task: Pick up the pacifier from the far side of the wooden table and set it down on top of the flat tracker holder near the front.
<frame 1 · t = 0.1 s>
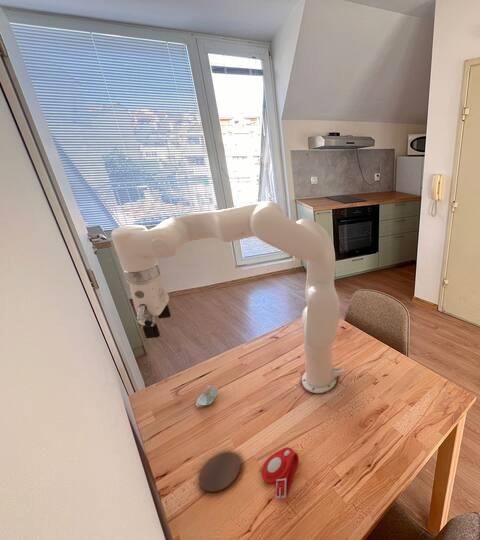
hand: (159, 326, 84), 31 cm above the table, tool pointing down, fingers open, 9 cm apart
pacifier: (207, 400, 99), on the table
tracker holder: (279, 477, 77), on the table
dark brown coaster: (220, 472, 78), on the table
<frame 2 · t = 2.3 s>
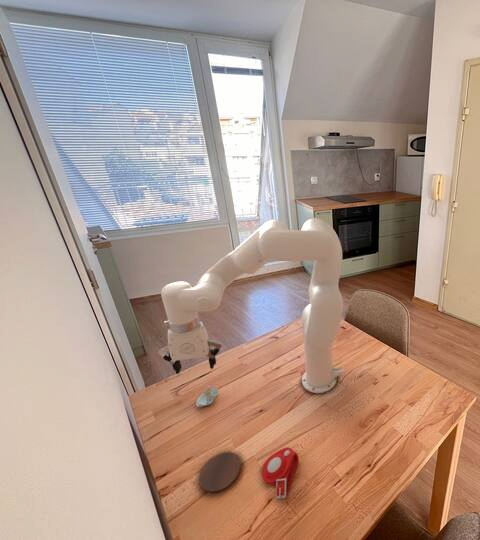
hand: (196, 368, 92), 14 cm above the table, tool pointing down, fingers open, 9 cm apart
nothing on the table moved.
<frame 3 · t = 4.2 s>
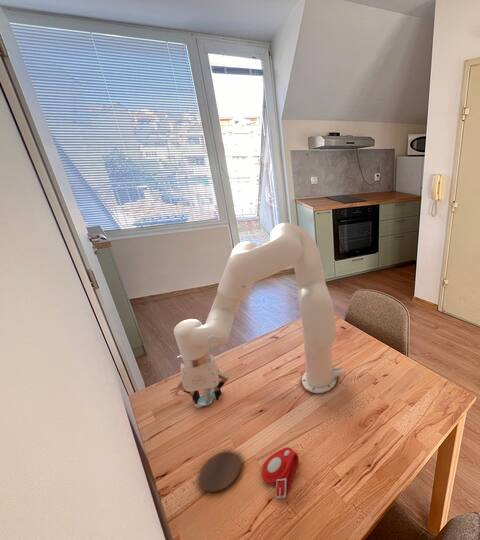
hand: (208, 398, 98), 1 cm above the table, tool pointing down, fingers closed on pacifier, 5 cm apart
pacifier: (206, 401, 99), on the table, touching gripper
everything else where it was.
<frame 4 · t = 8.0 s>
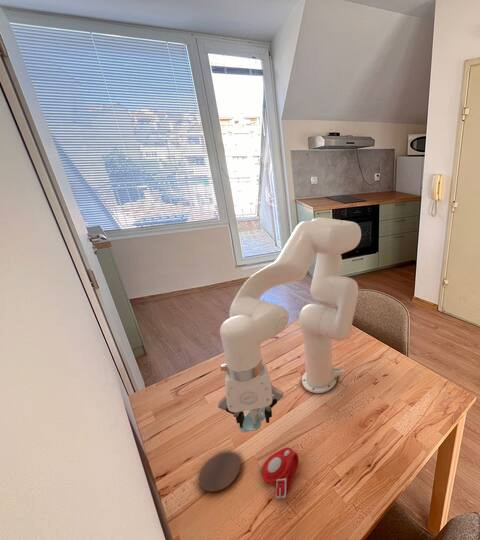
hand: (255, 420, 75), 15 cm above the table, tool pointing down, fingers closed on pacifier, 5 cm apart
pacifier: (252, 423, 75), point 15 cm above the table, touching gripper
everything else where it was.
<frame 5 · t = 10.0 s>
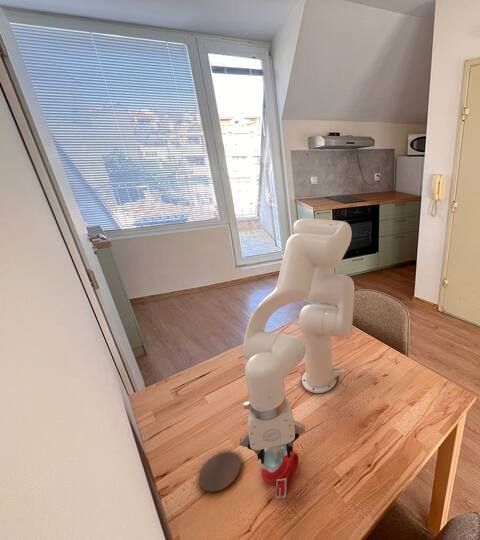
hand: (276, 454, 73), 9 cm above the table, tool pointing down, fingers closed on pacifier, 5 cm apart
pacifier: (273, 458, 73), point 8 cm above the table, touching gripper
everything else where it was.
when the fingers open (5 cm above the table, at t = 11.6 s): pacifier stays where it is, resting on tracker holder.
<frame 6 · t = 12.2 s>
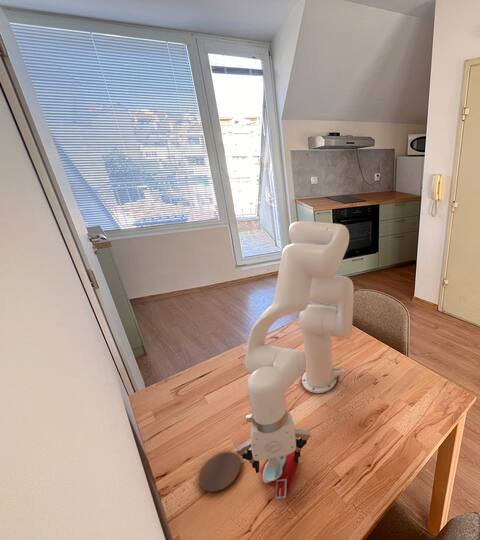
hand: (277, 462, 75), 6 cm above the table, tool pointing down, fingers open, 9 cm apart
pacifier: (275, 470, 75), point 3 cm above the table, touching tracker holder
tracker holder: (279, 477, 77), on the table, touching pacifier
everything else where it was.
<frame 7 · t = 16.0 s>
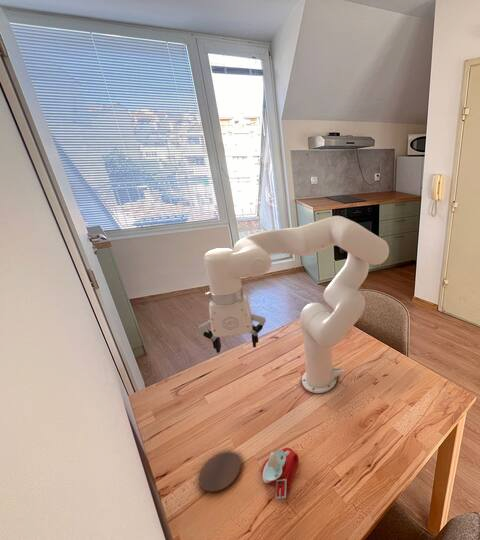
hand: (237, 346, 84), 26 cm above the table, tool pointing down, fingers open, 9 cm apart
nothing on the table moved.
at the end: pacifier inside the target area on the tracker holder (0.7 cm from its centre), point 3.7 cm above the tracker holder's base; the gripper is holding nothing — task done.
